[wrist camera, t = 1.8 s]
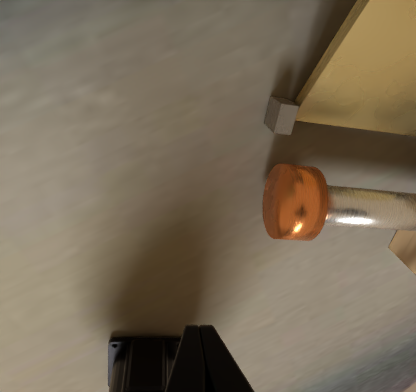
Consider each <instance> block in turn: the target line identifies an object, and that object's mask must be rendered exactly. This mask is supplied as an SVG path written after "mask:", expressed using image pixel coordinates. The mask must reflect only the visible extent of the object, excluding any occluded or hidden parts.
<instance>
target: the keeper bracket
mask: <svg viewBox="0 0 416 392" xmlns="http://www.w3.org/2000/svg"><path fill="white" fill-rule="evenodd" d="M298 108H299V106H298V105H296V104H294V103H293V102H291V101H289V100H288V99H285V98H278V97H272V96H270V100H269V105H268V109H267V113H266V117H265V121H264V124H265V125H266V126H267V127H268V128H269V129H270V130H271V131H272V132H273V133H277V134H286V135H291V133H292V129H293V126H294V122H295V119H296V115H297V112H298Z"/></svg>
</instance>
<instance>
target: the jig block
mask: <svg viewBox="0 0 416 392" xmlns="http://www.w3.org/2000/svg"><path fill="white" fill-rule="evenodd" d="M388 248H389V249H390V250H391V251H392V252H393V253H394V254H395V255H396V256H397V257H398V258H399V259H400V260H401V261H402V262H403V263H404V264H405V265H406V266H407V267H408V268H409V269H410V270H411V271H412V272H413V273H414V274H415V275H416V231H405V230H397V232H396V234H395V236H394V238H393V239H392V241H391V243H390V245H389V247H388Z"/></svg>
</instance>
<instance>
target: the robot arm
mask: <svg viewBox="0 0 416 392" xmlns="http://www.w3.org/2000/svg"><path fill="white" fill-rule="evenodd" d="M108 386H109V387H110V388H109V392H254V390H253V389H252V387H251V385H250V384H249V382H248V381H247V379H246V377H245V376H244V374H243V373H242V371H241V370H240V368H239V366H238V365H237V363H236V362H235V360H234V358H233V357H232V355H231V354H230V352H229V350H228V349H227V347H226V346H225V344H224V342H223V341H222V339H221V338H220V336H219V334H218V333H217V331H216V330H215V328H214V327H213V326H212V325H200V326H198V325H186V326H185V328H184V331H183V334H182V337H181V338H112V339H110V340H109V345H108Z"/></svg>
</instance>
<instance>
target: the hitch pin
mask: <svg viewBox="0 0 416 392" xmlns="http://www.w3.org/2000/svg"><path fill="white" fill-rule="evenodd" d="M263 220H264V225H265V228H266V231H267V233H268V234H269V236H270V237H271V238H273V239H286V240H303V241H310V240H312V239H314V238H315V237H316V236H317V235H318V234H319V233H320V231H321V229H322V228H323V225H332V226H347V227H361V228H376V229H390V230H405V231H416V193H405V192H394V191H384V190H373V189H362V188H352V187H341V186H331V185H327V183H326V180H325V178H324V175H323V174H322V172H321V171H320V170H319V169H318V168H316V167H310V166H301V165H291V164H282V163H280V164H277V165H275V166H274V167H273V169H272V170H271V172H270V174H269V176H268V178H267V181H266V185H265V189H264V195H263Z"/></svg>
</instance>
